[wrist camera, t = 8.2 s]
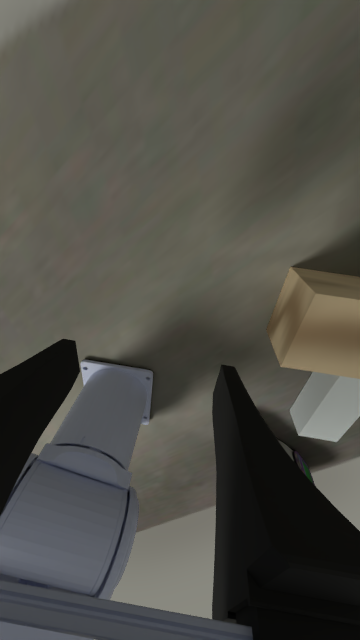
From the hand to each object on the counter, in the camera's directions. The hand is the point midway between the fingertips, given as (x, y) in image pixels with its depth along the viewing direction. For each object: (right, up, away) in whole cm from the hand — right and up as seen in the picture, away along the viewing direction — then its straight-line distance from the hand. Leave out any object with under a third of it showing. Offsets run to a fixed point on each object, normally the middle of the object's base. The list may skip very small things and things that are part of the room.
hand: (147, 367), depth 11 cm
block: (+13, +4, +8) cm, 16 cm away
